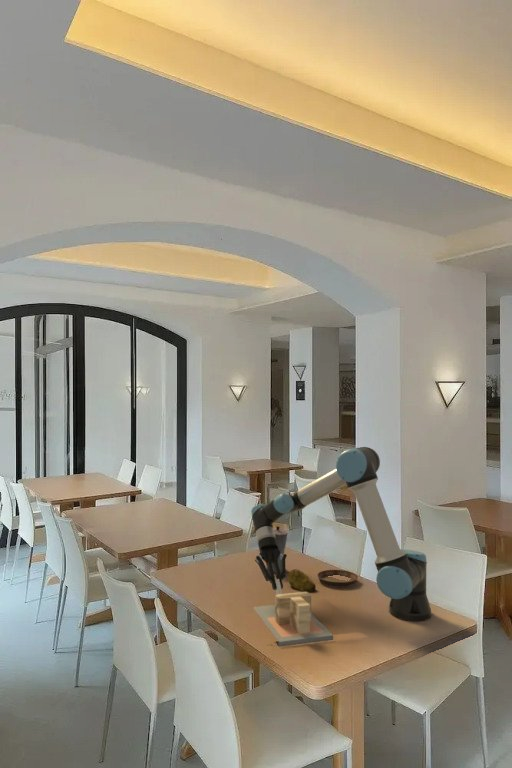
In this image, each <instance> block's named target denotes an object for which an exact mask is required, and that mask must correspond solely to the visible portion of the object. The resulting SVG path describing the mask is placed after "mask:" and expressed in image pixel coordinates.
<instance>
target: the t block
mask: <svg viewBox="0 0 512 768" xmlns="http://www.w3.org/2000/svg"><path fill="white" fill-rule="evenodd" d="M274 596H275V597H274V600H275V601H274V605H275V621H276V623H277V624H278V625H286V624H290V625H291V626H292V627H293V628H294V629H295V630H296V631H297V632H298V633H307V632H310V621H311V614H312V595H311V594H310V593H309V592H306V591H299V592H288V593H283V594H278V595H276V594H275V595H274Z"/></svg>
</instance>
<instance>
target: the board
mask: <svg viewBox="0 0 512 768" xmlns="http://www.w3.org/2000/svg"><path fill="white" fill-rule="evenodd" d="M252 609H253V610H254V611H255V612H256V613H257V615H258V616H259V618H260V620H262V622H263V623H264V624H265V626H266V627H267V628H268V629H269V631H270V632H271V634H272V635H273V636H274V638H276V641H275V644H277V646H278V647H286V646H287V647H288V646H295V645H303V644H312V643H320V642H327V641H333V640H334V634H332V632H331V631H330V630H328V628H326V627H325V625H324V624H323V623H321V622H320V620H318V619H317V617H315V616H314V615H313V614H312V613H311V621H310V632H307V633H298V632H297V631H296V630H295V629H294V628H293V627H292V626H291V625H290V624H286V625H278V624H277V623H276V621H275V604H269V605H260V606H252Z"/></svg>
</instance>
